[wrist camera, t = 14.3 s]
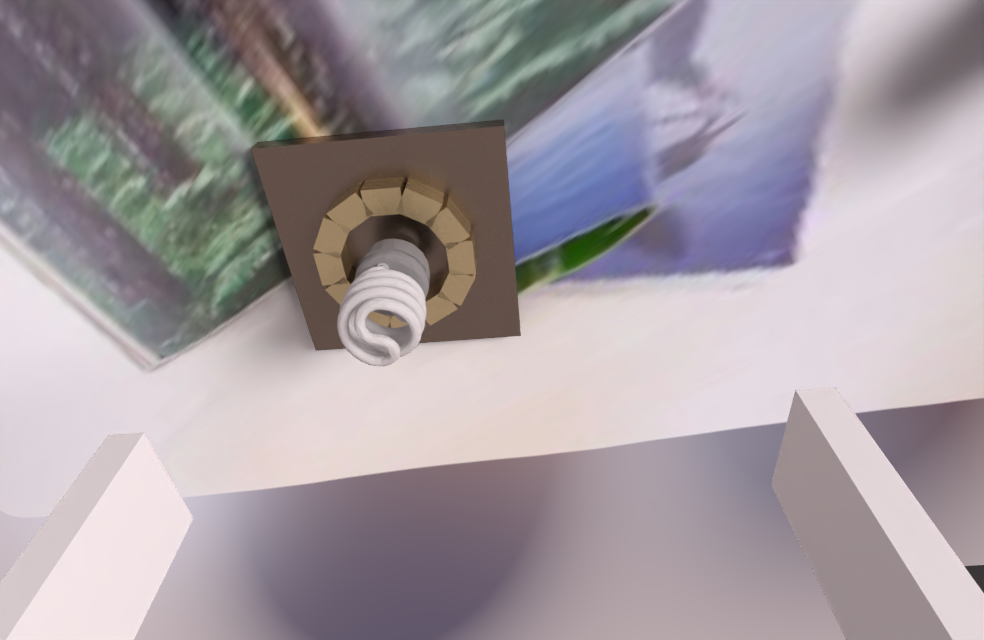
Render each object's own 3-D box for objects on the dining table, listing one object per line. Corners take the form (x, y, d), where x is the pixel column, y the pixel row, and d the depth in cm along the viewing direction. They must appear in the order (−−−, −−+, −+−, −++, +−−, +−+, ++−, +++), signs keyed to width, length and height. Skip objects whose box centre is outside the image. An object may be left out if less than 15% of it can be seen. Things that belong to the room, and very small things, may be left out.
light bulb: (447, 270, 48) (435, 364, 38) (383, 291, 49) (356, 387, 39) (418, 209, 45) (397, 293, 35) (351, 232, 46) (313, 320, 36)
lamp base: (257, 142, 44) (241, 158, 41) (503, 119, 43) (504, 134, 40) (319, 340, 54) (310, 364, 51) (519, 325, 53) (521, 349, 50)
